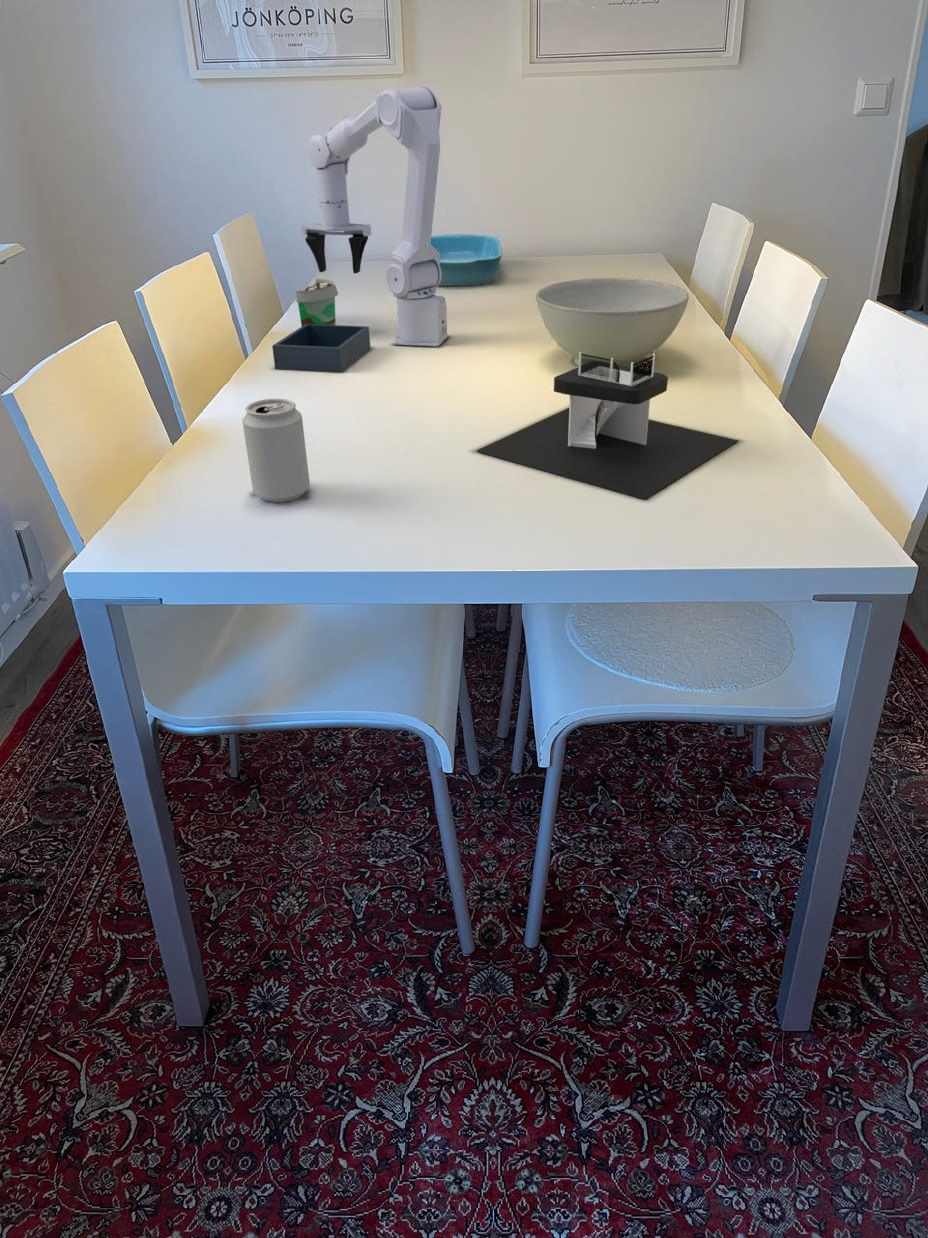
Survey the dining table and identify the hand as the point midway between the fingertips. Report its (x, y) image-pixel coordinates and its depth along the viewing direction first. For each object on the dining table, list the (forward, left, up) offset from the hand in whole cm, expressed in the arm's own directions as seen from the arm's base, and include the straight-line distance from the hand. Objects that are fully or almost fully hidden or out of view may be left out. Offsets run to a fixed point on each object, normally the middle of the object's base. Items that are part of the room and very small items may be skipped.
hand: (339, 271), depth 196 cm
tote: (-6, +27, -10) cm, 30 cm away
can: (-24, +88, -11) cm, 92 cm away
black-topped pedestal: (-64, +63, -11) cm, 90 cm away
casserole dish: (-12, -52, -11) cm, 54 cm away
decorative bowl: (-59, +20, -11) cm, 63 cm away
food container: (0, +11, -11) cm, 15 cm away
